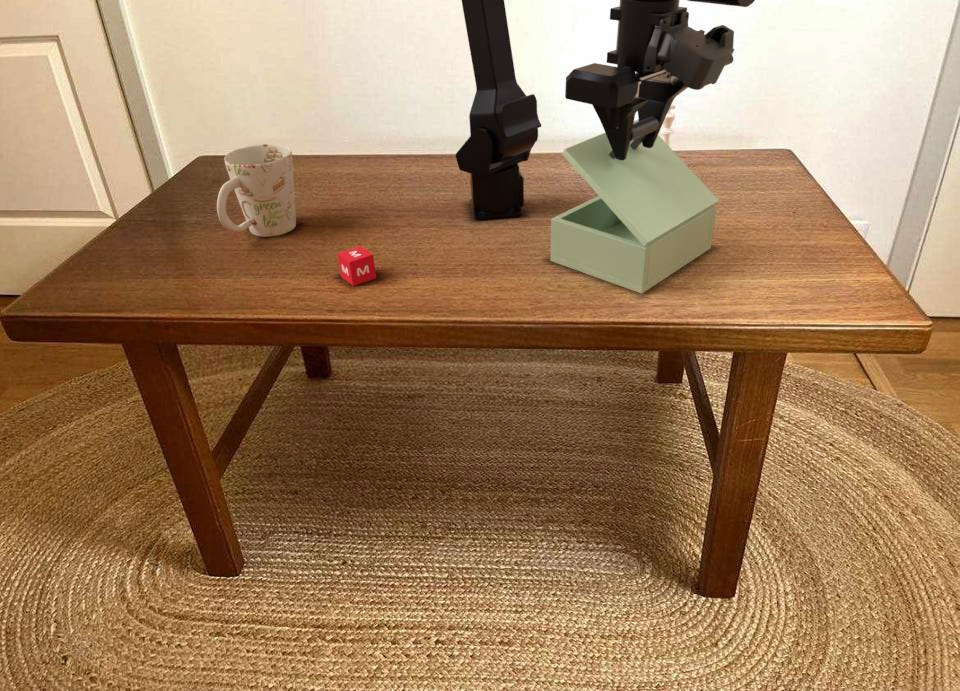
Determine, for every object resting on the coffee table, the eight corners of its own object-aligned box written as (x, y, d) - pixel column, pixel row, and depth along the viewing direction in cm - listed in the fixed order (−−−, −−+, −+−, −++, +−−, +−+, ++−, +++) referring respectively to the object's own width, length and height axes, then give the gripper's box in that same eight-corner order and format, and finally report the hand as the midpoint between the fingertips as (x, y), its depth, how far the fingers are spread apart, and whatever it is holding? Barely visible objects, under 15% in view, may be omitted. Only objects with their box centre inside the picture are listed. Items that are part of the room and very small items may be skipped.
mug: (317, 220, 98) (304, 147, 93) (256, 258, 89) (238, 180, 83) (268, 212, 101) (253, 141, 96) (205, 248, 92) (184, 172, 86)
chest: (550, 261, 85) (550, 218, 82) (621, 222, 94) (624, 182, 91) (641, 293, 77) (645, 248, 75) (710, 248, 86) (716, 206, 83)
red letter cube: (376, 278, 83) (373, 254, 81) (353, 286, 82) (349, 262, 80) (363, 269, 85) (360, 245, 83) (340, 277, 84) (337, 253, 82)
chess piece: (680, 174, 107) (687, 105, 102) (646, 173, 108) (652, 105, 103) (679, 163, 111) (686, 97, 106) (646, 162, 112) (652, 96, 107)
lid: (561, 154, 77) (584, 119, 73) (638, 122, 86) (662, 89, 82) (644, 247, 75) (672, 216, 71) (715, 204, 83) (743, 175, 79)
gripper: (670, 19, 60) (650, 196, 69) (772, -8, 71) (743, 147, 80) (565, 6, 67) (558, 169, 76) (673, -17, 78) (656, 127, 87)
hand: (634, 153), depth 79 cm, fingers closed on lid, 5 cm apart
